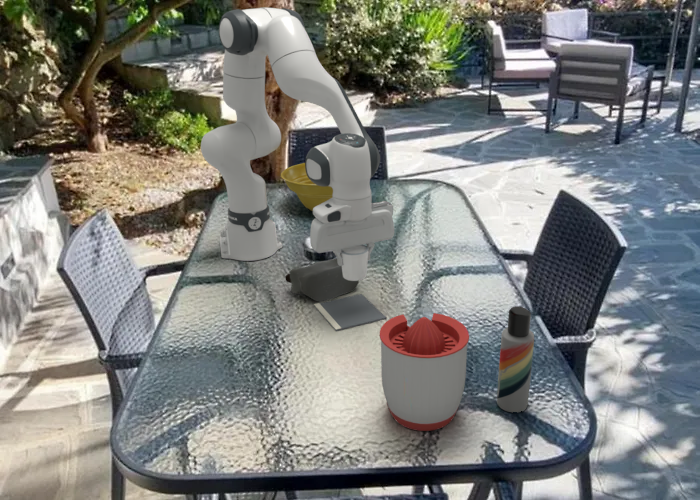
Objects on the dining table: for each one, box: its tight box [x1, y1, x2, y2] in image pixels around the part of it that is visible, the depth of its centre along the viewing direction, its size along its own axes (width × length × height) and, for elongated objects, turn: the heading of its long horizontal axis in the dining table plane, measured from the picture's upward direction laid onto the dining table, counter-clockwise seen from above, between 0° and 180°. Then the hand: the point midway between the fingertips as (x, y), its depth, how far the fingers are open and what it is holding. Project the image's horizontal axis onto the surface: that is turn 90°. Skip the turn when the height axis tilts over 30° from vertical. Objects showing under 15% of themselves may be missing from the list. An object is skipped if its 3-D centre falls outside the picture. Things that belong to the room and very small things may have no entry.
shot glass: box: [339, 244, 369, 281], centre depth 150 cm, size 7×7×7 cm
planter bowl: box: [280, 162, 333, 212], centre depth 226 cm, size 32×32×13 cm
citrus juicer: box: [379, 312, 470, 432], centre depth 115 cm, size 16×17×20 cm
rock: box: [284, 257, 360, 303], centre depth 165 cm, size 18×11×8 cm, turn 123°
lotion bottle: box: [496, 305, 535, 413], centre depth 116 cm, size 6×6×20 cm
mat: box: [313, 293, 387, 332], centre depth 155 cm, size 14×13×1 cm
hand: (353, 262), depth 150 cm, fingers closed on shot glass, 5 cm apart
